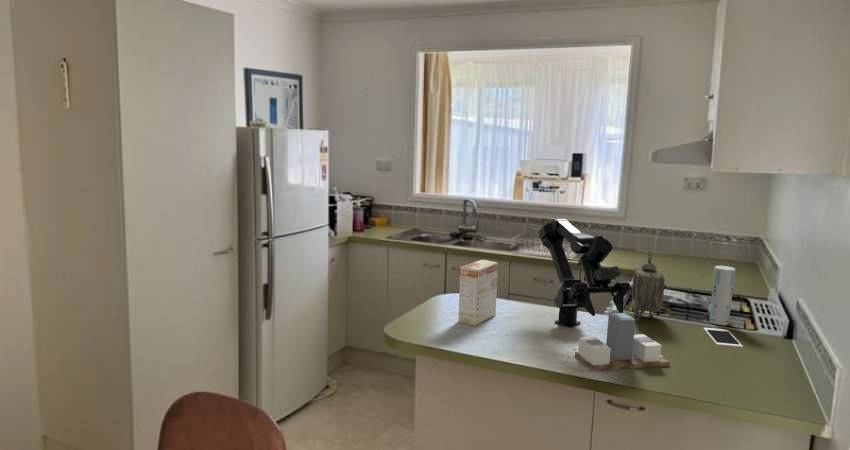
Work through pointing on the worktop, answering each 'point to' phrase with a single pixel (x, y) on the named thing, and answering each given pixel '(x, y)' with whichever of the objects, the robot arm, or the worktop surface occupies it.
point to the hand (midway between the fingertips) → (608, 315)
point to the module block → (620, 336)
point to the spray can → (722, 295)
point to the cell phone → (722, 337)
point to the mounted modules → (601, 352)
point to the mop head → (647, 288)
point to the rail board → (623, 363)
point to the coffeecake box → (477, 292)
